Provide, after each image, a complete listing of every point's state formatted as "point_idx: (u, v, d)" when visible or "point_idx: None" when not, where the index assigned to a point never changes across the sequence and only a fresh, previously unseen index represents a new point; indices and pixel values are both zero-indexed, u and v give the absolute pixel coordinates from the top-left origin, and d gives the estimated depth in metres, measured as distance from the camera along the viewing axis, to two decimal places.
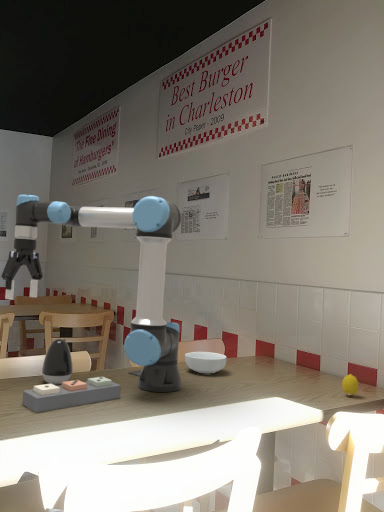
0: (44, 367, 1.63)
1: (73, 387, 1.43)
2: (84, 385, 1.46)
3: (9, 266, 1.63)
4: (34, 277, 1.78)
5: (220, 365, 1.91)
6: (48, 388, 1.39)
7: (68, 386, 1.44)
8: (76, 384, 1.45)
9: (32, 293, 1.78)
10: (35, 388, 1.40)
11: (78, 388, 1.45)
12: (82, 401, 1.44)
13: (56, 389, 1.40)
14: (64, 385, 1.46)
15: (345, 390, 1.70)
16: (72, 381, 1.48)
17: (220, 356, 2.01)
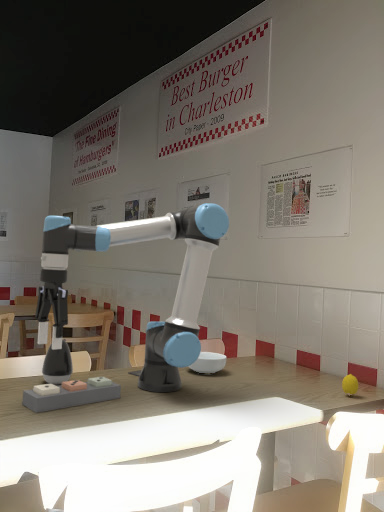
0: (44, 367, 1.63)
1: (73, 387, 1.43)
2: (84, 385, 1.46)
3: (65, 310, 1.36)
4: (42, 318, 1.44)
5: (220, 365, 1.91)
6: (48, 388, 1.39)
7: (68, 386, 1.44)
8: (76, 384, 1.45)
9: (42, 339, 1.44)
10: (35, 388, 1.40)
11: (78, 388, 1.45)
12: (82, 401, 1.44)
13: (56, 389, 1.40)
14: (64, 385, 1.46)
15: (345, 390, 1.70)
16: (72, 381, 1.48)
17: (220, 356, 2.01)
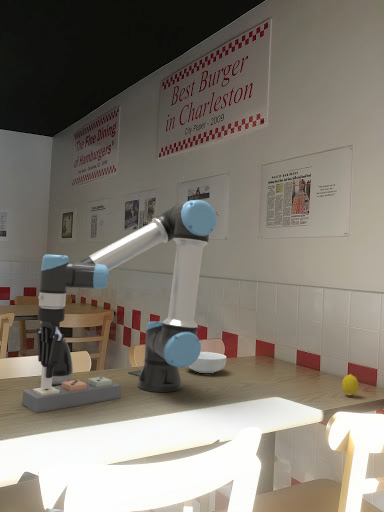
0: None
1: (73, 387, 1.43)
2: (84, 385, 1.46)
3: (58, 352, 1.38)
4: (45, 361, 1.41)
5: (220, 365, 1.91)
6: (48, 391, 1.39)
7: (68, 386, 1.44)
8: (76, 384, 1.45)
9: None
10: (35, 391, 1.40)
11: (78, 388, 1.45)
12: (82, 401, 1.44)
13: (56, 392, 1.40)
14: (64, 385, 1.46)
15: (345, 390, 1.70)
16: (72, 381, 1.48)
17: (220, 356, 2.01)
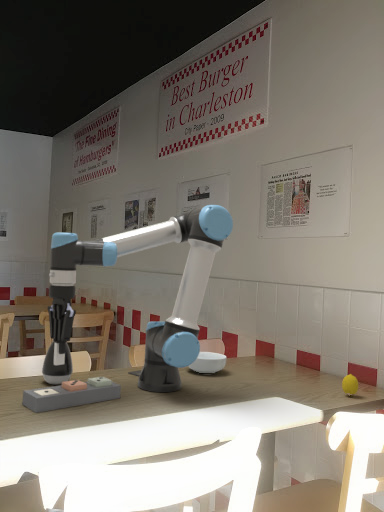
0: (44, 367, 1.63)
1: (73, 387, 1.43)
2: (84, 385, 1.46)
3: (70, 328, 1.40)
4: (57, 338, 1.43)
5: (220, 365, 1.91)
6: (48, 393, 1.39)
7: (68, 386, 1.44)
8: (76, 384, 1.45)
9: None
10: None
11: (78, 388, 1.45)
12: (82, 401, 1.44)
13: None
14: (64, 385, 1.46)
15: (345, 390, 1.70)
16: (72, 381, 1.48)
17: (220, 356, 2.01)
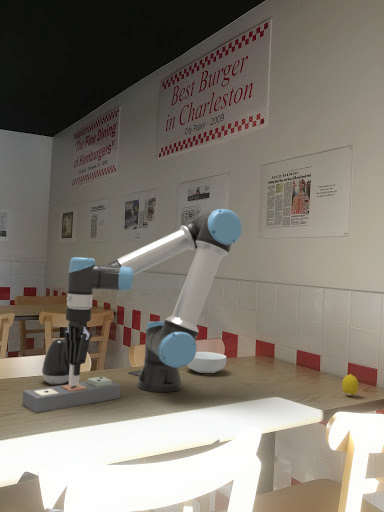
0: (44, 367, 1.63)
1: None
2: None
3: (85, 351, 1.44)
4: (72, 359, 1.47)
5: (220, 365, 1.91)
6: (48, 393, 1.39)
7: (68, 390, 1.44)
8: (76, 388, 1.45)
9: None
10: None
11: None
12: (82, 401, 1.44)
13: None
14: None
15: (345, 390, 1.70)
16: None
17: (220, 356, 2.01)
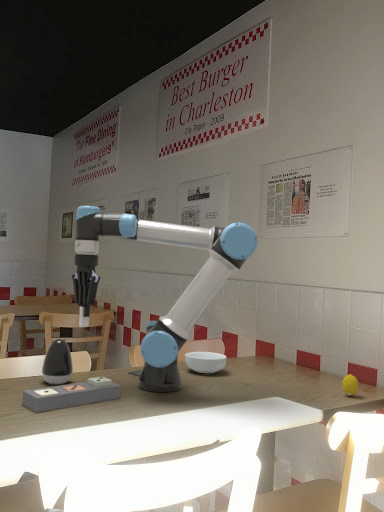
0: (44, 367, 1.63)
1: None
2: None
3: (95, 293, 1.54)
4: (82, 302, 1.57)
5: (220, 365, 1.91)
6: (48, 393, 1.39)
7: None
8: (76, 389, 1.45)
9: None
10: None
11: None
12: (82, 401, 1.44)
13: None
14: None
15: (345, 390, 1.70)
16: (72, 386, 1.48)
17: (220, 356, 2.01)
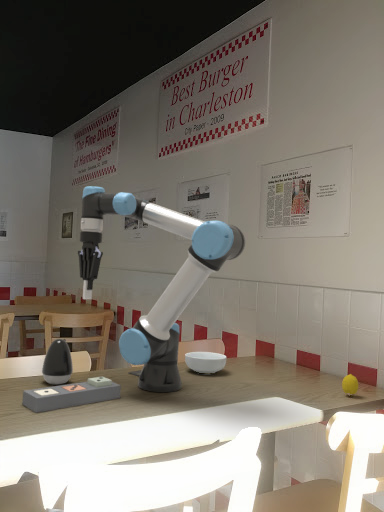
0: (44, 367, 1.63)
1: None
2: None
3: (97, 268, 1.65)
4: (86, 277, 1.68)
5: (220, 365, 1.91)
6: (48, 393, 1.39)
7: None
8: (76, 389, 1.45)
9: None
10: None
11: None
12: (82, 401, 1.44)
13: None
14: None
15: (345, 390, 1.70)
16: (72, 386, 1.48)
17: (220, 356, 2.01)
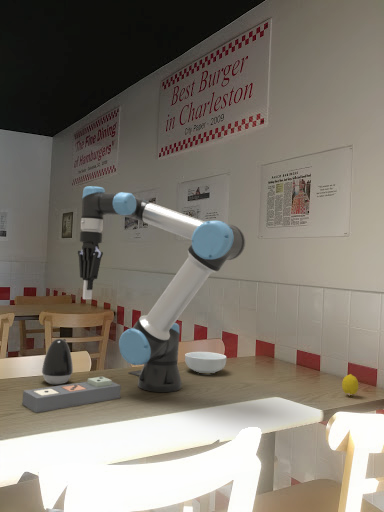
0: (44, 367, 1.63)
1: None
2: None
3: (97, 268, 1.65)
4: (86, 277, 1.68)
5: (220, 365, 1.91)
6: (48, 393, 1.39)
7: None
8: (76, 389, 1.45)
9: None
10: None
11: None
12: (82, 401, 1.44)
13: None
14: None
15: (345, 390, 1.70)
16: (72, 386, 1.48)
17: (220, 356, 2.01)
